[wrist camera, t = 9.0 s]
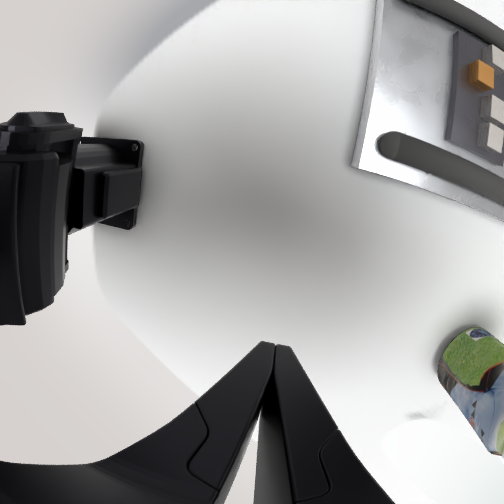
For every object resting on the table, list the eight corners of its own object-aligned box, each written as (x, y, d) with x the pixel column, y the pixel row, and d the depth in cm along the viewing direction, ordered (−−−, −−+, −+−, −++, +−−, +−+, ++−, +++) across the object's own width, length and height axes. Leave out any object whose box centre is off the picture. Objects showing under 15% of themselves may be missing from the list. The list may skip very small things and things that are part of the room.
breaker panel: (351, 166, 17) (367, 169, 13) (377, -12, 12) (392, -43, 8) (508, 223, 16) (542, 240, 12) (525, 66, 11) (557, 58, 7)
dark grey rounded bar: (394, 1, 11) (401, -11, 9) (395, -16, 10) (401, -27, 9) (539, 83, 10) (551, 81, 8) (538, 66, 9) (550, 63, 7)
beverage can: (420, 373, 21) (459, 484, 10) (462, 302, 18) (540, 404, 7) (465, 379, 21) (508, 471, 9) (505, 316, 18) (574, 400, 7)
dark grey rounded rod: (374, 155, 14) (382, 155, 13) (379, 128, 14) (388, 125, 12) (524, 217, 13) (537, 223, 12) (529, 196, 13) (543, 200, 11)
